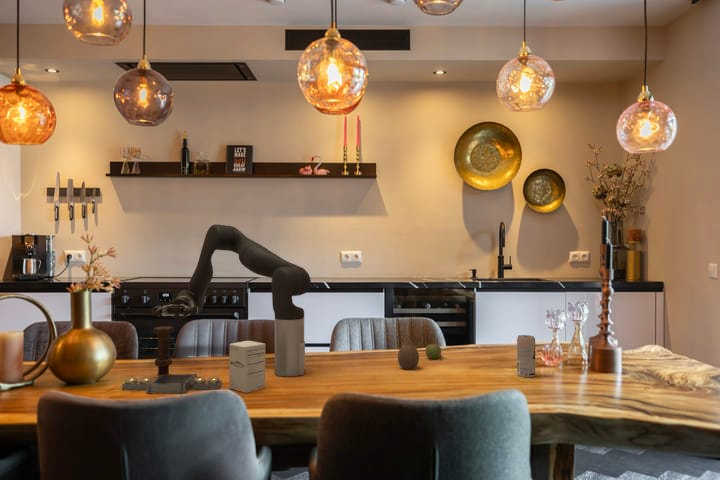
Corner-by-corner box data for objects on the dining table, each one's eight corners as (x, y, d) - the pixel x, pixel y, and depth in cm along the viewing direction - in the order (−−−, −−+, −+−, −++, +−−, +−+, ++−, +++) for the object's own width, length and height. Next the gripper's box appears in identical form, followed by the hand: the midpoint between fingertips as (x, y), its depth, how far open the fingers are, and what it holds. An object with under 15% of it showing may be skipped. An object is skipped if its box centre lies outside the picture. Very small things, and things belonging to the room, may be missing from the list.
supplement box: (228, 388, 148) (228, 343, 148) (249, 383, 154) (249, 339, 154) (244, 393, 143) (244, 346, 143) (266, 388, 149) (266, 342, 149)
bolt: (165, 379, 158) (165, 329, 158) (150, 378, 159) (150, 328, 159) (176, 374, 164) (176, 326, 164) (161, 374, 165) (161, 325, 165)
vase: (394, 369, 171) (394, 342, 171) (401, 365, 177) (401, 338, 177) (415, 371, 168) (415, 343, 168) (421, 366, 175) (421, 340, 175)
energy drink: (536, 374, 164) (536, 335, 164) (534, 378, 159) (534, 338, 159) (518, 372, 166) (518, 334, 166) (515, 376, 161) (515, 337, 162)
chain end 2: (224, 382, 155) (224, 373, 155) (215, 393, 144) (215, 383, 144) (163, 382, 154) (163, 373, 154) (148, 393, 143) (148, 384, 143)
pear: (424, 343, 186) (427, 343, 195) (424, 359, 185) (427, 358, 194) (440, 344, 185) (442, 343, 194) (440, 359, 184) (442, 358, 193)
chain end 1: (195, 382, 155) (195, 373, 155) (183, 393, 143) (183, 383, 143) (133, 383, 154) (133, 374, 154) (116, 394, 143) (116, 384, 143)
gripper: (160, 296, 188) (148, 301, 172) (201, 296, 190) (193, 301, 174) (160, 317, 188) (148, 325, 172) (201, 317, 190) (193, 324, 174)
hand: (171, 313), depth 173 cm, fingers open, 8 cm apart
